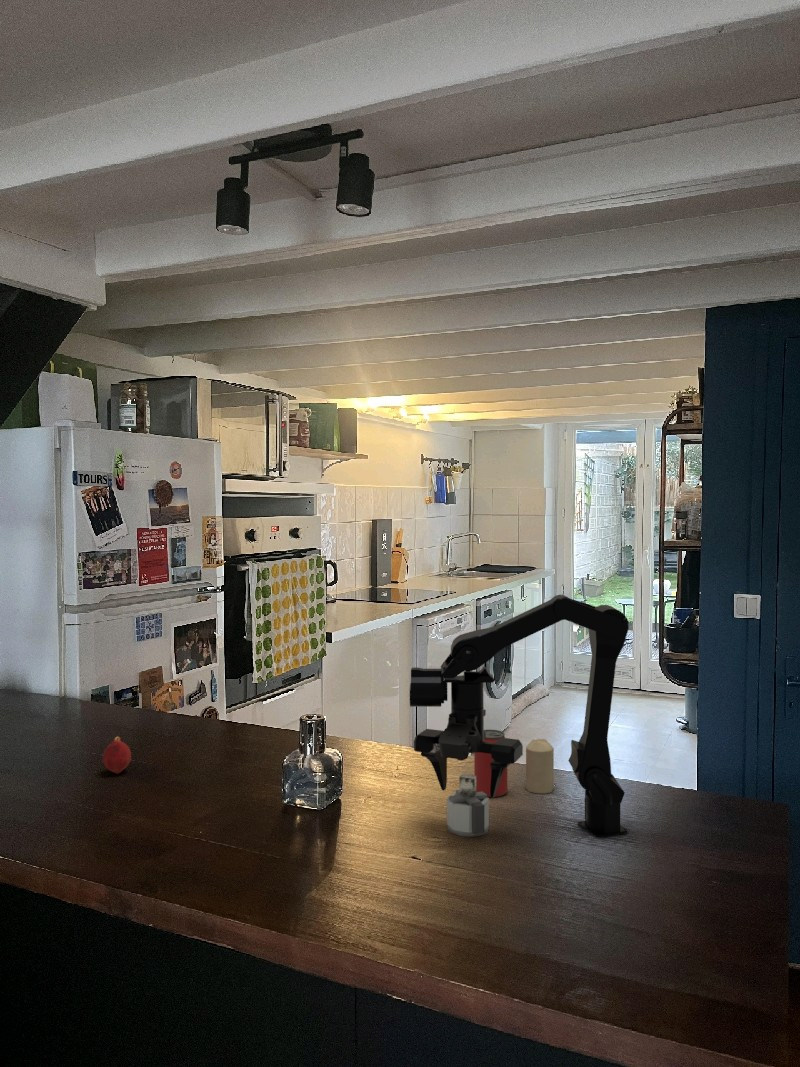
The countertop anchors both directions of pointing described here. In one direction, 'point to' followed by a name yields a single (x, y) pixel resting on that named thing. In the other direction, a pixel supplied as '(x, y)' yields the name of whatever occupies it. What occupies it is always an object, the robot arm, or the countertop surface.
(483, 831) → the grey faceted drum
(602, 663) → the robot arm
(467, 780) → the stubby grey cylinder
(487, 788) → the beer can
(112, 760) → the onion
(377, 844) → the countertop surface
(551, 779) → the candle
